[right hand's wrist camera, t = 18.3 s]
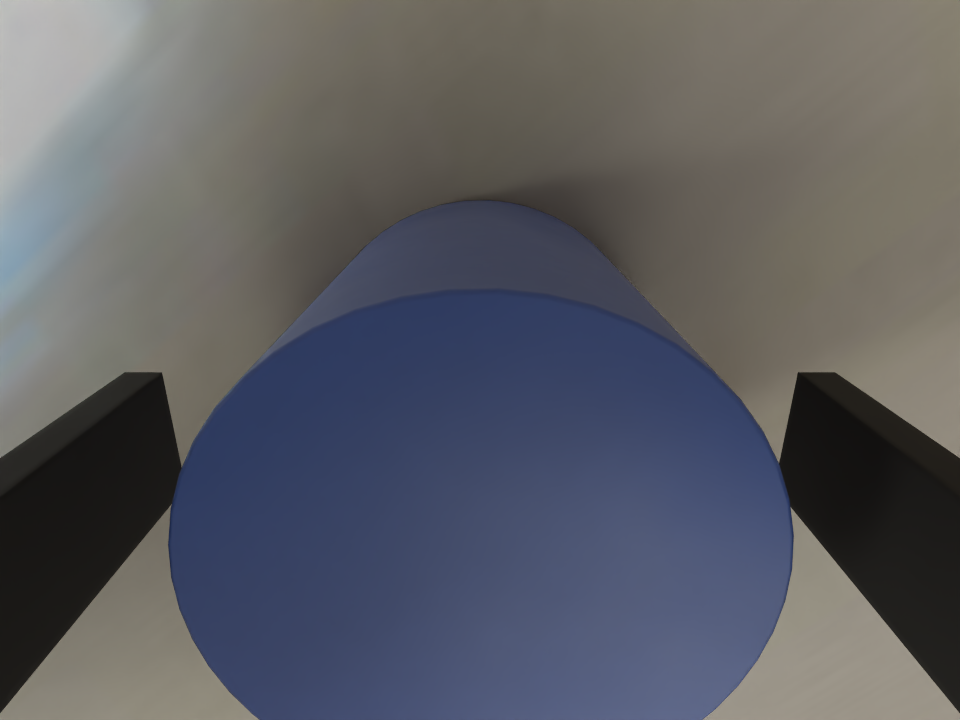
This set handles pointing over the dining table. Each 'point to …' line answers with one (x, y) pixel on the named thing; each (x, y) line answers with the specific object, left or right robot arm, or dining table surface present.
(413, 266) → the canister
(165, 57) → the dining table surface
